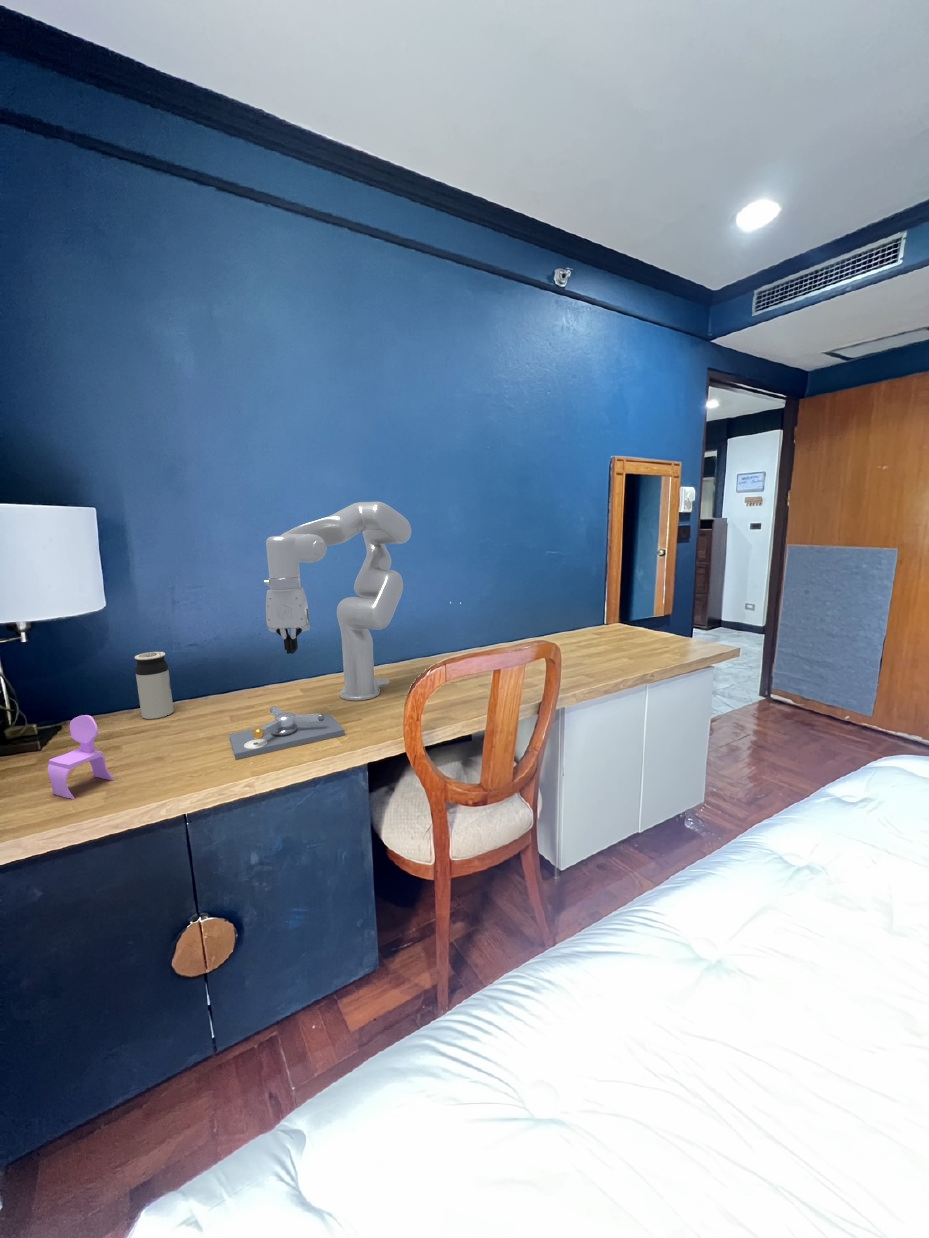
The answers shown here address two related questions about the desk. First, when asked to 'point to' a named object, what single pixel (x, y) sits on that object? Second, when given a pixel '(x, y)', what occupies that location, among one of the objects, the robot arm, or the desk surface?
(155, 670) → the travel mug
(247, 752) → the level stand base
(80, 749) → the toy chair
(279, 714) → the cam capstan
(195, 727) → the desk surface
